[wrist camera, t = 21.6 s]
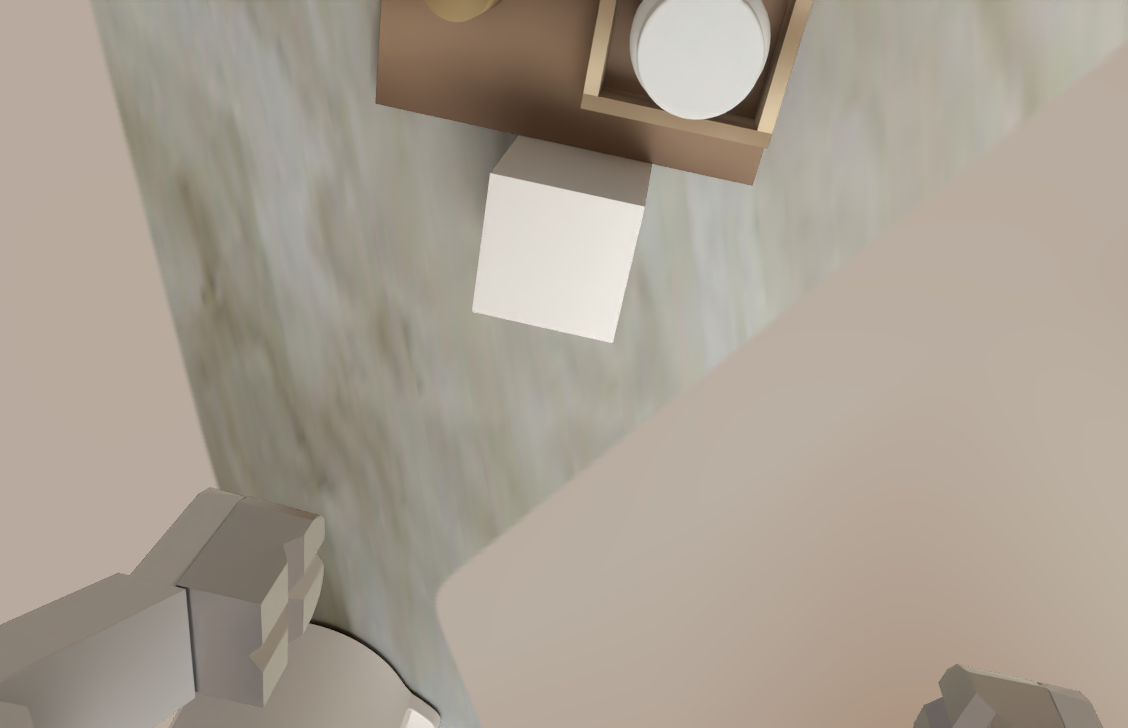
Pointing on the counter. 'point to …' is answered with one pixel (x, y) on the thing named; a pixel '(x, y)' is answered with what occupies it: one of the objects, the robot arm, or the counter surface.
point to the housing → (560, 237)
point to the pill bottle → (699, 53)
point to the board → (571, 79)
